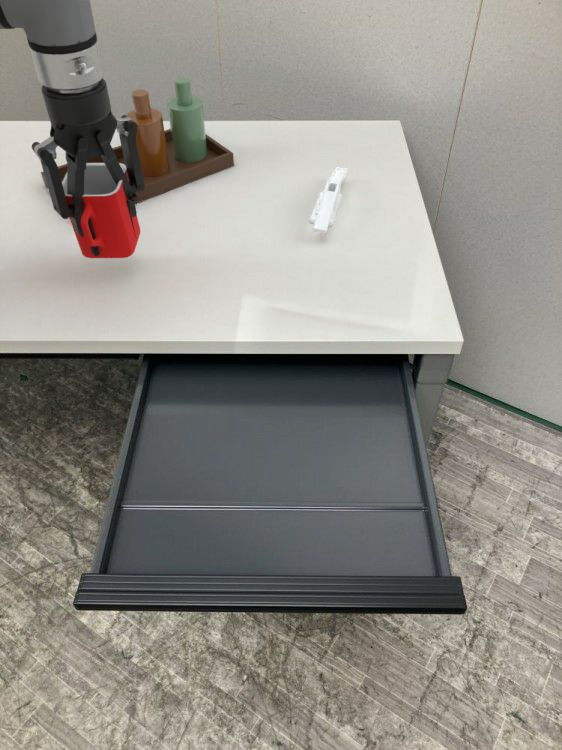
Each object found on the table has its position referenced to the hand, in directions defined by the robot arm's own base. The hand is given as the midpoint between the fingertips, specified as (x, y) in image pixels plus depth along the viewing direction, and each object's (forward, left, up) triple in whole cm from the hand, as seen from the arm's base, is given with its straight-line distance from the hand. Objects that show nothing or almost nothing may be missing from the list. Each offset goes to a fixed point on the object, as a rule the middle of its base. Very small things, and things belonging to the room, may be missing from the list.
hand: (111, 243), depth 87 cm
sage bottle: (+28, +24, -5) cm, 37 cm away
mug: (-1, 0, -1) cm, 1 cm away
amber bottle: (+20, +24, -5) cm, 31 cm away
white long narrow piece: (+37, -6, -6) cm, 38 cm away
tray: (+17, +24, -6) cm, 30 cm away
